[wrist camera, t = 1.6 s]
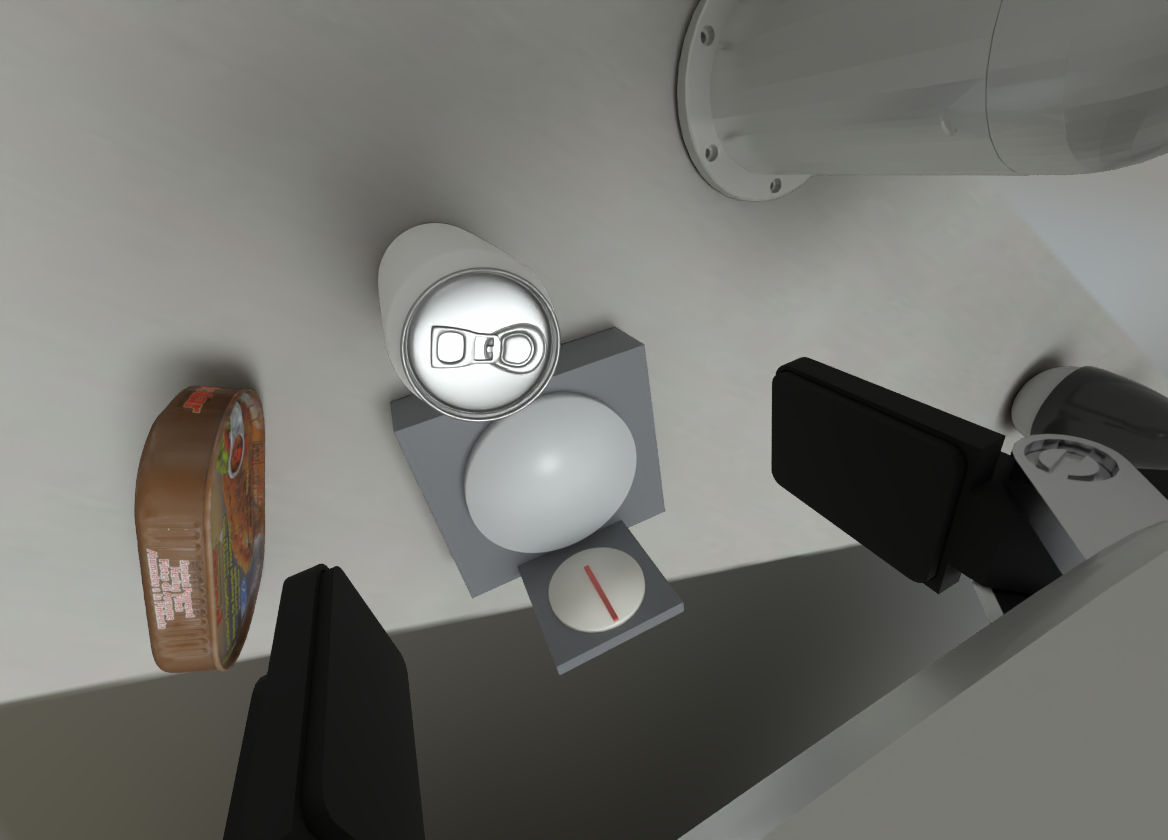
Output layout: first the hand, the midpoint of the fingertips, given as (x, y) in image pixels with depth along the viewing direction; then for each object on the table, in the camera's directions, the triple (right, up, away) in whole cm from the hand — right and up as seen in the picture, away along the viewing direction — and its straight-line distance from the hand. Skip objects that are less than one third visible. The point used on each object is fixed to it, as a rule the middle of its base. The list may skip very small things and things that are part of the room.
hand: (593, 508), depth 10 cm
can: (-8, +9, +17) cm, 21 cm away
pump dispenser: (+54, +5, +48) cm, 72 cm away
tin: (-20, -2, +17) cm, 27 cm away
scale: (-4, 0, +24) cm, 24 cm away
